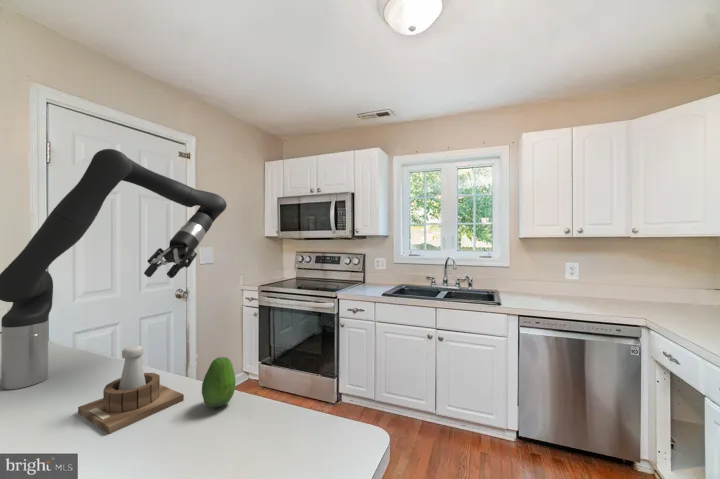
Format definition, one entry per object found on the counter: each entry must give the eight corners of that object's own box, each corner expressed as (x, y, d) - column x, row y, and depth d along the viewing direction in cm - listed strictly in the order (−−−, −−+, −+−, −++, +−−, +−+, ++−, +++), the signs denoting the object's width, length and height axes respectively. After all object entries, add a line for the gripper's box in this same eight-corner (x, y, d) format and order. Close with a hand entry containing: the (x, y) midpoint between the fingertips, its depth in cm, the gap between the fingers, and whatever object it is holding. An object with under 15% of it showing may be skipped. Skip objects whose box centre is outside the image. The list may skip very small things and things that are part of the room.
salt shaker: (131, 406, 74) (131, 351, 74) (111, 403, 75) (111, 350, 75) (152, 394, 80) (152, 343, 80) (133, 392, 81) (133, 342, 81)
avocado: (241, 404, 77) (241, 357, 77) (208, 418, 71) (208, 366, 71) (227, 394, 83) (227, 349, 83) (196, 405, 77) (196, 357, 77)
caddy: (78, 413, 73) (78, 388, 73) (150, 385, 87) (150, 364, 87) (109, 434, 65) (109, 405, 65) (183, 400, 79) (183, 377, 79)
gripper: (164, 230, 103) (131, 267, 92) (200, 229, 99) (169, 268, 88) (177, 245, 108) (147, 282, 97) (211, 246, 104) (184, 284, 93)
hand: (158, 275), depth 92 cm, fingers open, 8 cm apart
